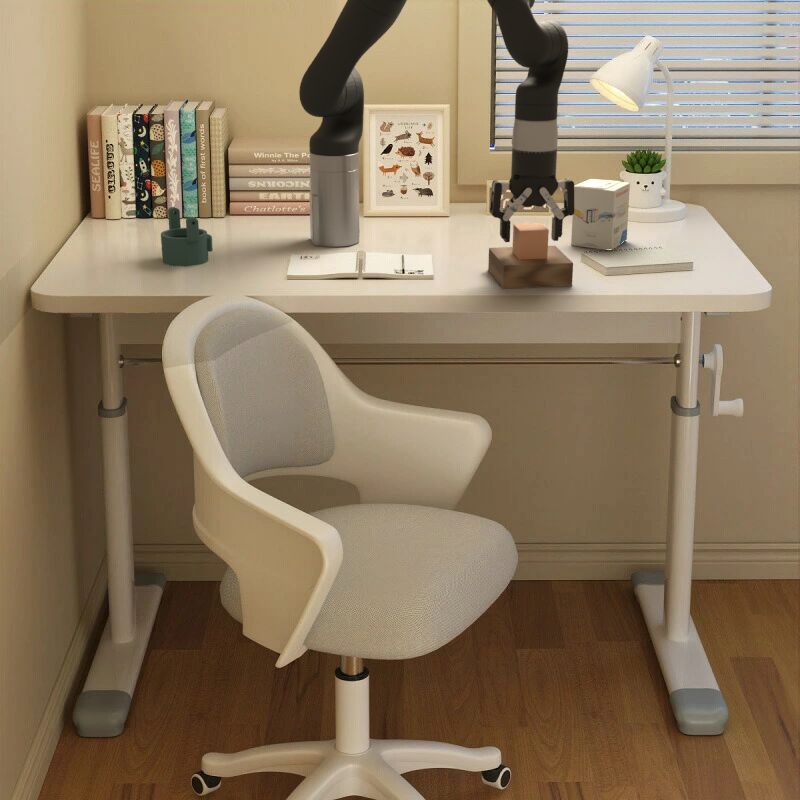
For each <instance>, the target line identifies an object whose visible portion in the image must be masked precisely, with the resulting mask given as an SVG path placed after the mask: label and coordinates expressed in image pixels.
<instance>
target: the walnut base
mask: <svg viewBox="0 0 800 800" xmlns="http://www.w3.org/2000/svg"><path fill="white" fill-rule="evenodd" d="M512 249H513V246H509V247H508V246H505V247H504V246H503V247H502V246H501V247H488V267H487V269H488V271H489V272H490V274H491V275H492V277H493V278H494V279H495V280H496V281H497V283H498V284H499V285H500V286H501V288H502V289H519V288H520V289H523V288H527V289H528V288H548V287H549V288H551V287H571V286H573V277H574V276H573V273H574V262H573V261H572V260H571V259H570V258H569V257H567V255H565V253H563V252H562V250H561V249H559V248H558V247H557V246H556V245H548V255H547V259H518V258H517V257H516V256H515V255H514V253H513V252H512Z"/></svg>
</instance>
